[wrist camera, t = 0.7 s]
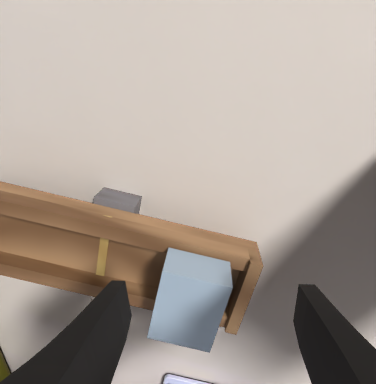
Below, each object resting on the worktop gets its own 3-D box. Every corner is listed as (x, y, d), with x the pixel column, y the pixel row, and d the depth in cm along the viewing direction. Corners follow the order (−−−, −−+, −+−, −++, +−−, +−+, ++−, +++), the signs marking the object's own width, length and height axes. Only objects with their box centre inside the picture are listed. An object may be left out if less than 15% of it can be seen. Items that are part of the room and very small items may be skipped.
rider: (209, 309, 20) (209, 352, 17) (157, 297, 20) (147, 337, 17) (228, 252, 19) (232, 287, 15) (171, 238, 19) (162, 271, 15)
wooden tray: (230, 292, 24) (234, 339, 20) (-6, 236, 24) (-56, 271, 19) (254, 223, 21) (265, 259, 17) (-10, 160, 21) (-69, 180, 17)
